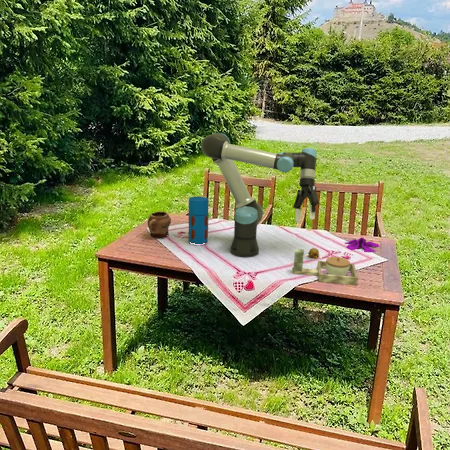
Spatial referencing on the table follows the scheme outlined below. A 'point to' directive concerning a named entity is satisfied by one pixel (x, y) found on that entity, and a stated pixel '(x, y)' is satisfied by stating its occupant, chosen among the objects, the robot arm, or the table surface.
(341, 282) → the pull frame
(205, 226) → the thermos
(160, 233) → the decorative planter
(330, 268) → the lidded jar
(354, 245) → the cloth
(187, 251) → the table surface
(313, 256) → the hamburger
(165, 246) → the table surface
